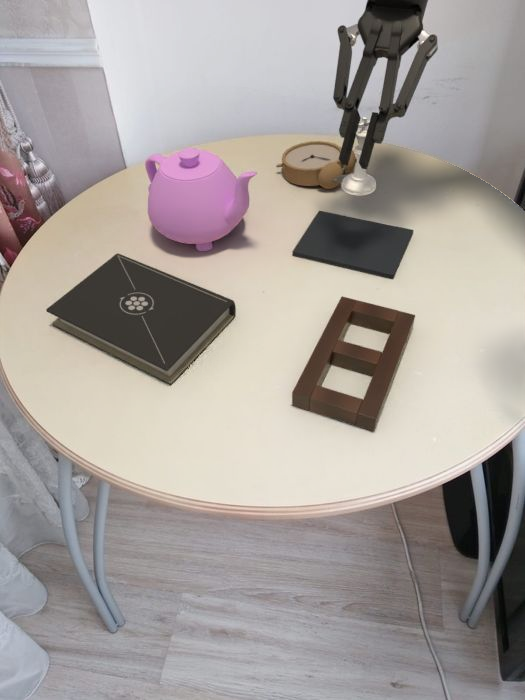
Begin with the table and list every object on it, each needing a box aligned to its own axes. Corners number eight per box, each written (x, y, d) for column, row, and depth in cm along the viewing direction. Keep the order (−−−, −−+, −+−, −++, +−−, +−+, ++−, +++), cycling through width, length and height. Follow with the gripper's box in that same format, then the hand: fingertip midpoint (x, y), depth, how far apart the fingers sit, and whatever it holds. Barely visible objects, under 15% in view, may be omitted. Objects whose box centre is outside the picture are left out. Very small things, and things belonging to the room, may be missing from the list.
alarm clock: (301, 137, 108) (372, 142, 100) (304, 161, 111) (373, 168, 103) (268, 163, 102) (341, 170, 94) (273, 188, 105) (344, 197, 97)
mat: (412, 234, 90) (413, 229, 90) (393, 279, 83) (393, 275, 82) (318, 214, 95) (319, 210, 94) (292, 255, 88) (292, 251, 87)
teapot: (286, 225, 93) (284, 147, 83) (232, 278, 85) (223, 198, 75) (182, 191, 102) (169, 116, 92) (124, 235, 93) (103, 159, 83)
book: (237, 315, 79) (235, 299, 77) (171, 385, 71) (167, 370, 69) (123, 267, 88) (118, 251, 86) (52, 325, 80) (45, 309, 77)
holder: (412, 328, 76) (415, 314, 74) (374, 432, 65) (376, 419, 63) (340, 309, 79) (341, 296, 77) (292, 405, 68) (291, 392, 66)
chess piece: (383, 188, 80) (391, 120, 73) (354, 199, 78) (360, 130, 71) (362, 173, 83) (368, 106, 76) (334, 183, 81) (338, 116, 74)
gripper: (462, 3, 73) (411, 182, 76) (351, -6, 78) (306, 163, 80) (463, -33, 66) (407, 165, 68) (340, -41, 71) (292, 145, 73)
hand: (353, 163), depth 74 cm, fingers closed on chess piece, 2 cm apart
